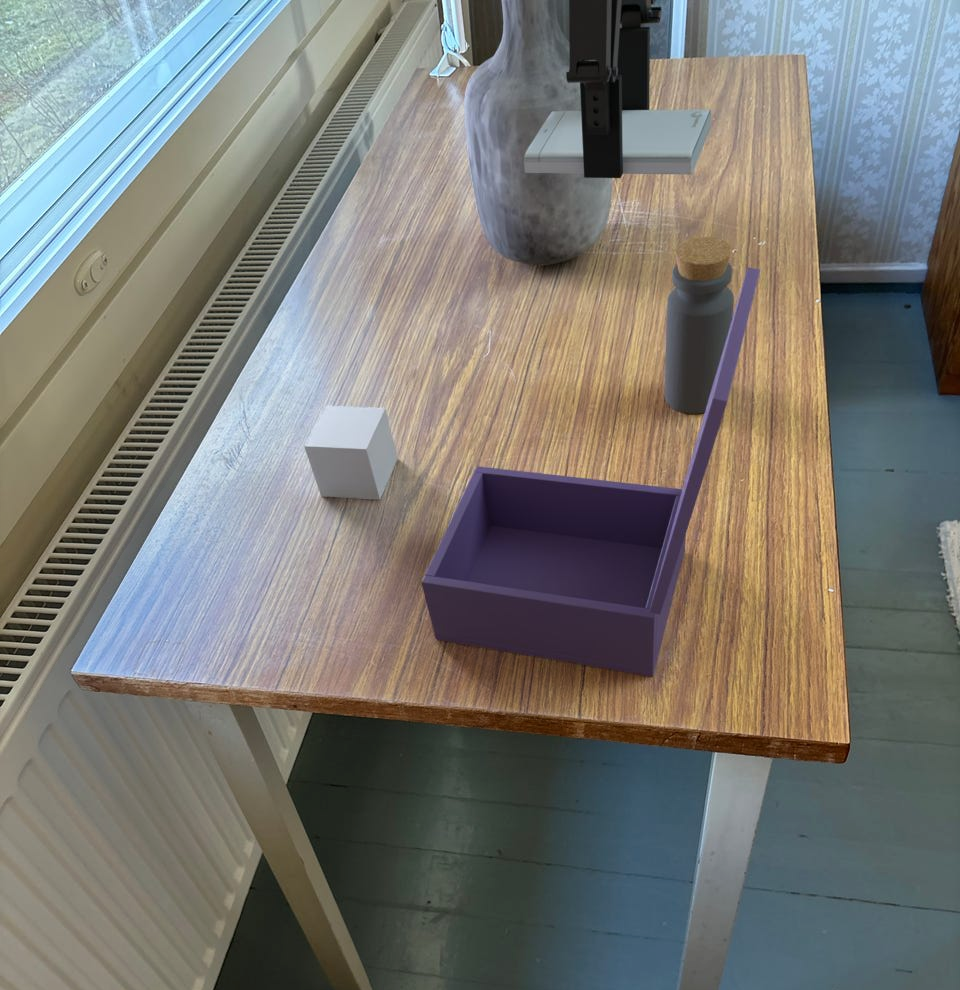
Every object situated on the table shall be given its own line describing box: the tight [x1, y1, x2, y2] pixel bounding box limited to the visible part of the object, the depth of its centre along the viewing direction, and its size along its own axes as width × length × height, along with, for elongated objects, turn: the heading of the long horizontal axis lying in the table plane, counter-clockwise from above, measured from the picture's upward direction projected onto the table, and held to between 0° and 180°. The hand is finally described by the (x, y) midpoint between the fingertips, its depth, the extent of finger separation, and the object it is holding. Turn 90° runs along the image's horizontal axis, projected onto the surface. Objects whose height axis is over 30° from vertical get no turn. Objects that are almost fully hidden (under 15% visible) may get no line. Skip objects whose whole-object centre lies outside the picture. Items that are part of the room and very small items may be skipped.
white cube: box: [303, 405, 399, 501], centre depth 87 cm, size 6×6×6 cm
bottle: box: [664, 236, 735, 415], centre depth 86 cm, size 6×6×15 cm
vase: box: [463, 0, 613, 266], centre depth 101 cm, size 16×16×30 cm
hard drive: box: [524, 108, 712, 175], centre depth 70 cm, size 2×8×12 cm
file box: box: [421, 465, 687, 678], centre depth 74 cm, size 18×14×7 cm
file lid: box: [650, 266, 761, 615], centre depth 61 cm, size 18×14×1 cm
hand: (617, 148), depth 71 cm, fingers closed on hard drive, 8 cm apart
